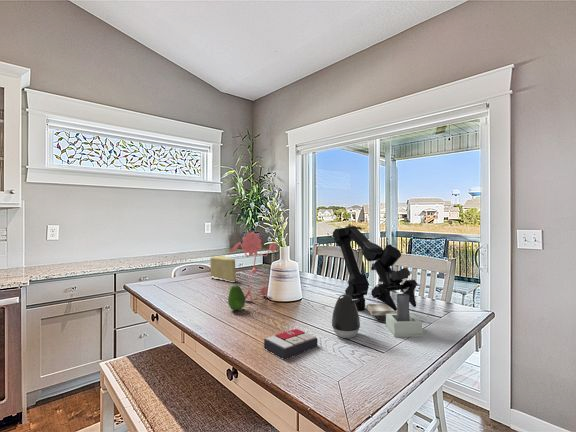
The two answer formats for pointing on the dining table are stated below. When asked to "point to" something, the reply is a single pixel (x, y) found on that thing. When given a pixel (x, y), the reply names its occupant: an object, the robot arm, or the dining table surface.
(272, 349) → the red and grey box
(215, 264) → the cheese
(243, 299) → the avocado
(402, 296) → the dark grey block
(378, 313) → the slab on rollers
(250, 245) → the figurine
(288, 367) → the dining table surface
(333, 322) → the dark egg shaped device
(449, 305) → the dining table surface
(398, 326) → the socket stand
